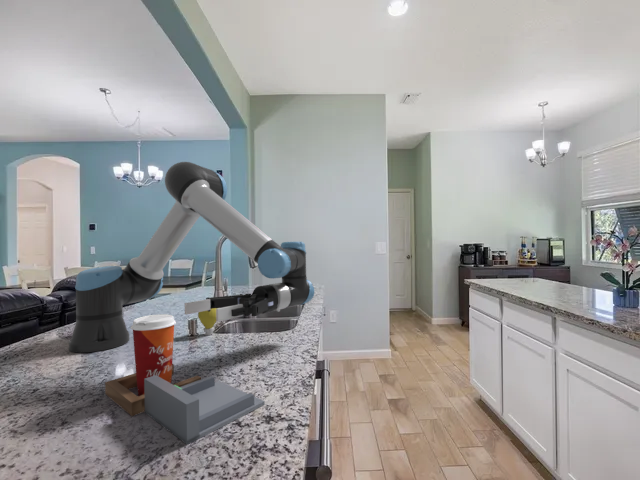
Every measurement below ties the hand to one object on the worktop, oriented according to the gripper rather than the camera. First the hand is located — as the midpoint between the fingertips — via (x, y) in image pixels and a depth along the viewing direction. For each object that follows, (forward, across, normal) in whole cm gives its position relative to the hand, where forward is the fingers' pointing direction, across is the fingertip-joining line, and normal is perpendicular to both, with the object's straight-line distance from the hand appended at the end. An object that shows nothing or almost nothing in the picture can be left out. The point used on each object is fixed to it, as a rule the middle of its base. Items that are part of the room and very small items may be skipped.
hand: (200, 311), depth 73 cm
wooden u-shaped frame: (+10, +1, -14) cm, 18 cm away
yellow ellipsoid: (-20, +29, -14) cm, 38 cm away
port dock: (+7, -14, -15) cm, 22 cm away
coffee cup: (+10, +1, -15) cm, 18 cm away
